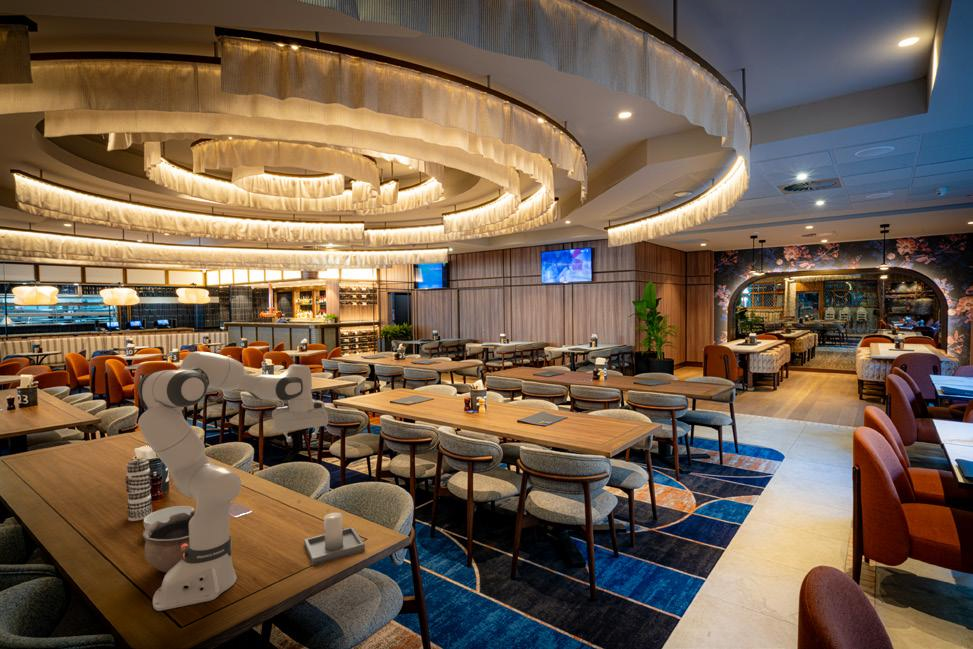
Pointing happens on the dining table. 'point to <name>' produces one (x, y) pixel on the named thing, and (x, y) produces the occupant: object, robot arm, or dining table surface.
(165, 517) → the cereal bowl
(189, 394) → the robot arm
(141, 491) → the decorative candle
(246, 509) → the mobile phone
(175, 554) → the ceramic bowl
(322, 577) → the dining table surface
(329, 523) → the cream capsule shape
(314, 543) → the serving tray
